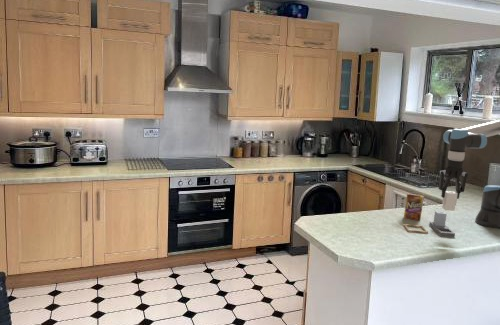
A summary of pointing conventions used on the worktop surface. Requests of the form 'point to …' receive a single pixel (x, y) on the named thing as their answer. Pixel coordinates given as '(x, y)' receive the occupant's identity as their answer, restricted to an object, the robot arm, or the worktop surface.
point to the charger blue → (439, 218)
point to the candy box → (413, 206)
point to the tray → (415, 230)
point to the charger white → (450, 201)
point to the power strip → (442, 230)
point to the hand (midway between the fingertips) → (449, 204)
